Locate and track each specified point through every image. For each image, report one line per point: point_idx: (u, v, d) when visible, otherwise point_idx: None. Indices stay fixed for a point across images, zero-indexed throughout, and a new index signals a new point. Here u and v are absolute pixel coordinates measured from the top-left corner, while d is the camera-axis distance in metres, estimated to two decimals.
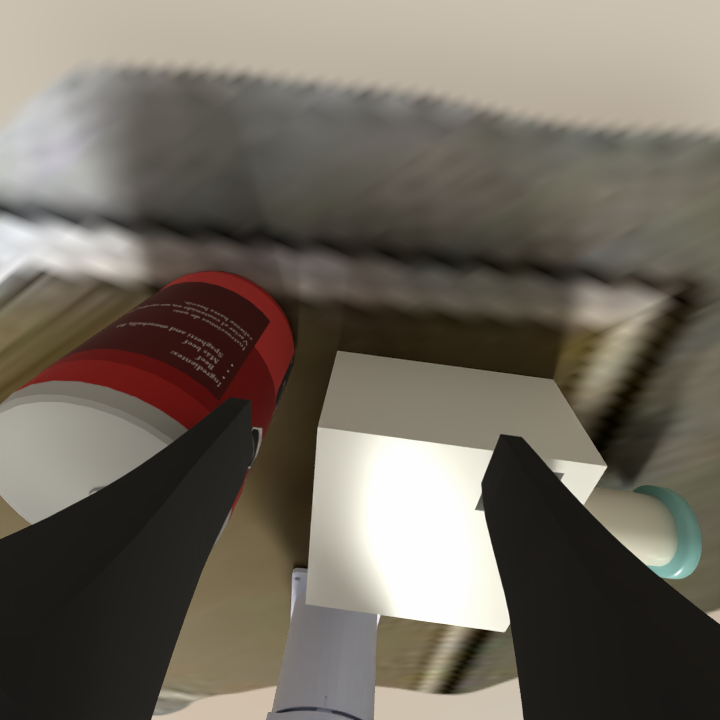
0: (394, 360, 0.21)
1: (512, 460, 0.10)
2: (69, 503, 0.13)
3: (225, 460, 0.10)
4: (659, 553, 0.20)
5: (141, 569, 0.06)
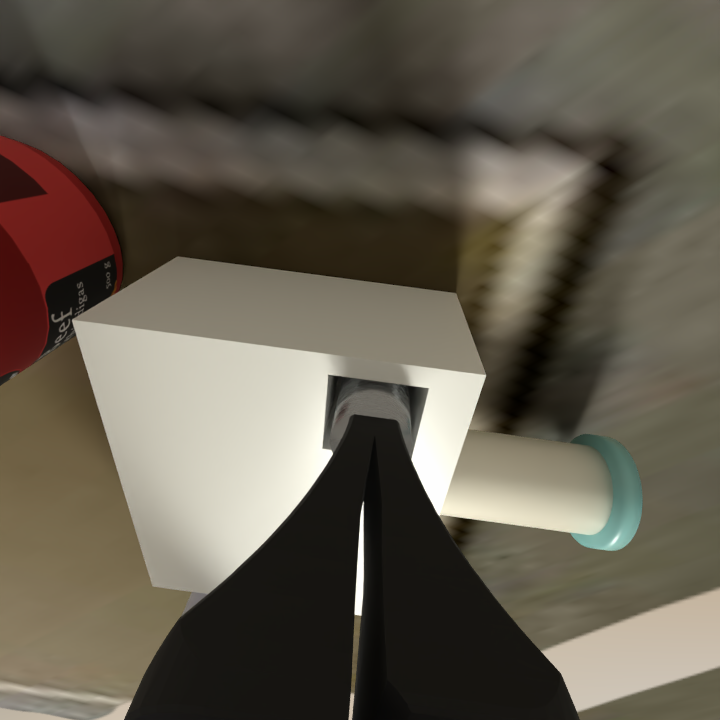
0: (249, 267, 0.16)
1: (374, 441, 0.10)
2: None
3: (366, 479, 0.10)
4: (589, 515, 0.16)
5: None
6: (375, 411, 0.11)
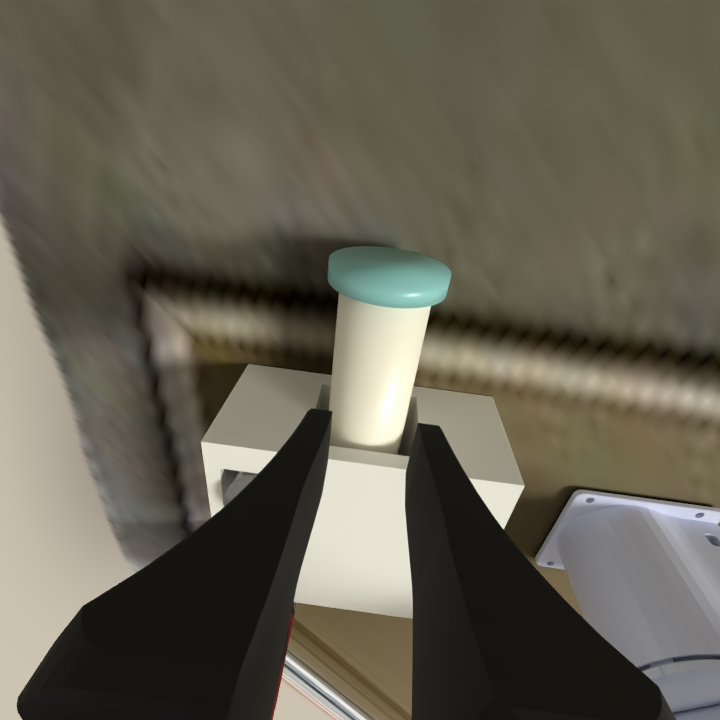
0: None
1: (421, 448, 0.10)
2: None
3: (318, 473, 0.10)
4: (372, 318, 0.15)
5: (279, 588, 0.06)
6: (223, 503, 0.18)
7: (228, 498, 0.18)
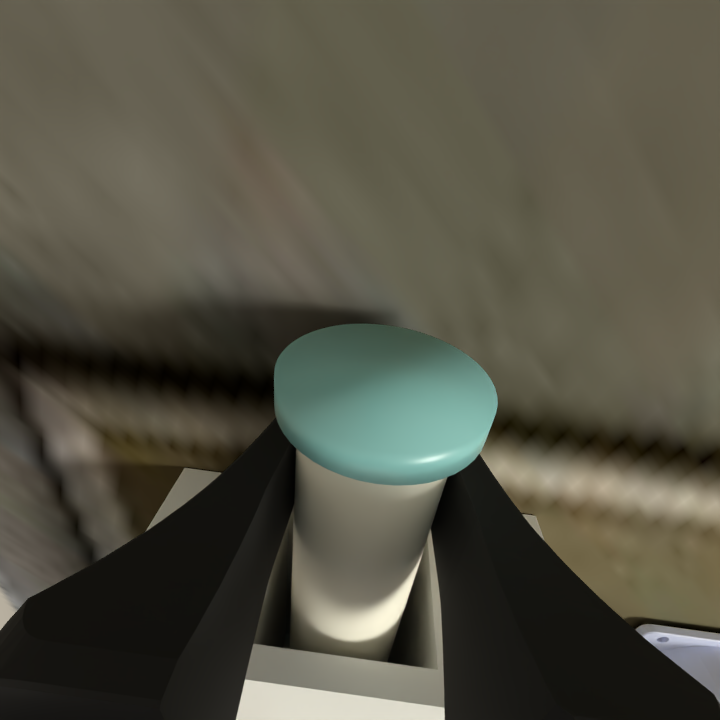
0: None
1: None
2: None
3: (290, 469, 0.10)
4: (353, 485, 0.08)
5: (237, 583, 0.06)
6: None
7: None
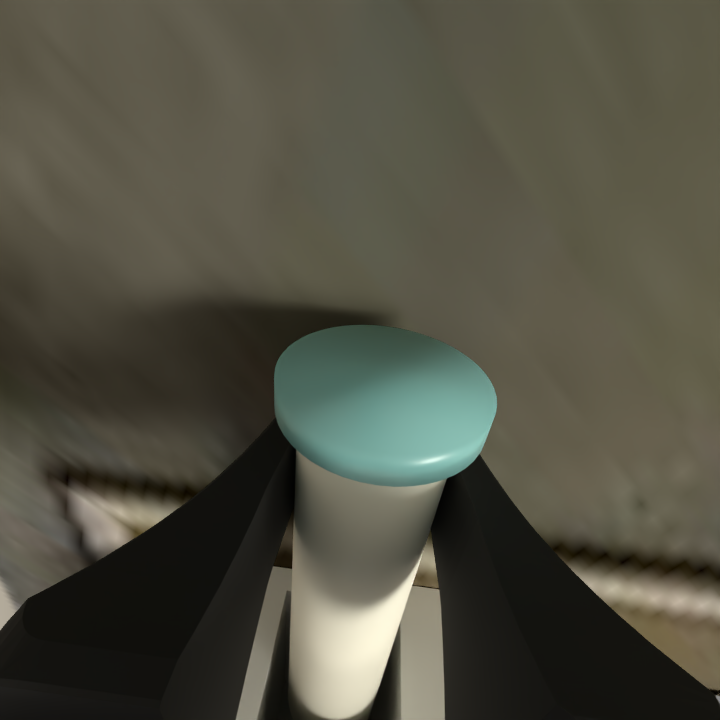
0: None
1: None
2: None
3: (290, 469, 0.10)
4: (353, 486, 0.08)
5: (238, 582, 0.06)
6: None
7: None
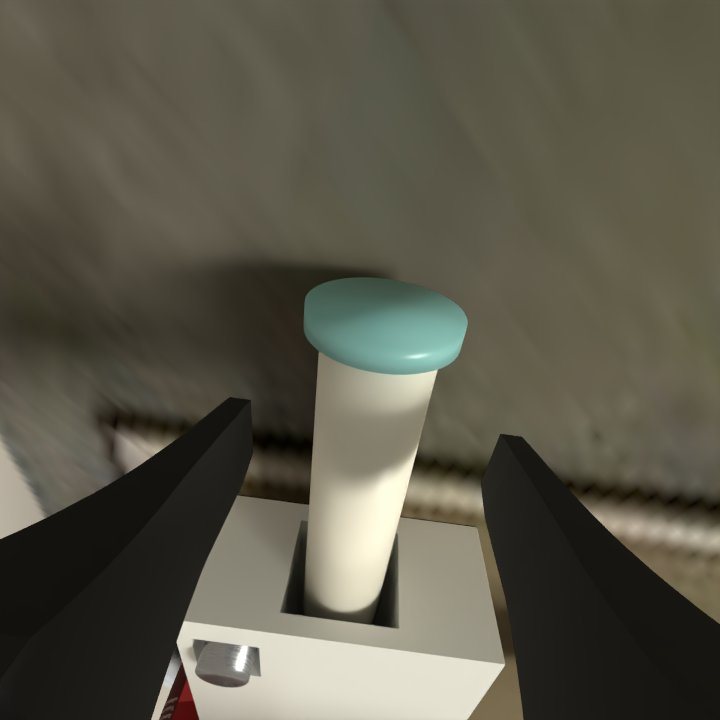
0: None
1: (512, 460, 0.10)
2: None
3: (225, 460, 0.10)
4: (363, 383, 0.11)
5: (141, 569, 0.06)
6: (195, 671, 0.17)
7: (200, 669, 0.17)
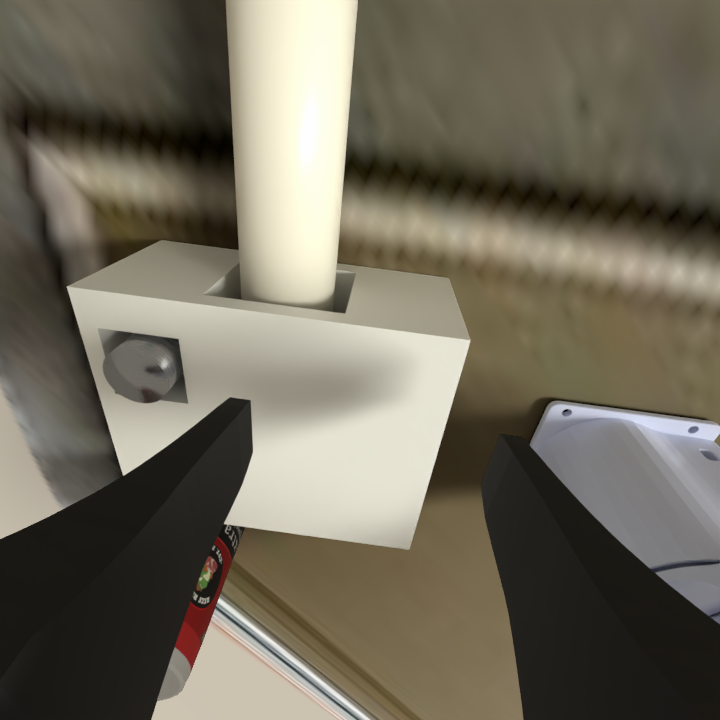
0: None
1: (512, 460, 0.10)
2: None
3: (225, 460, 0.10)
4: None
5: (141, 569, 0.06)
6: (103, 372, 0.14)
7: (108, 365, 0.14)
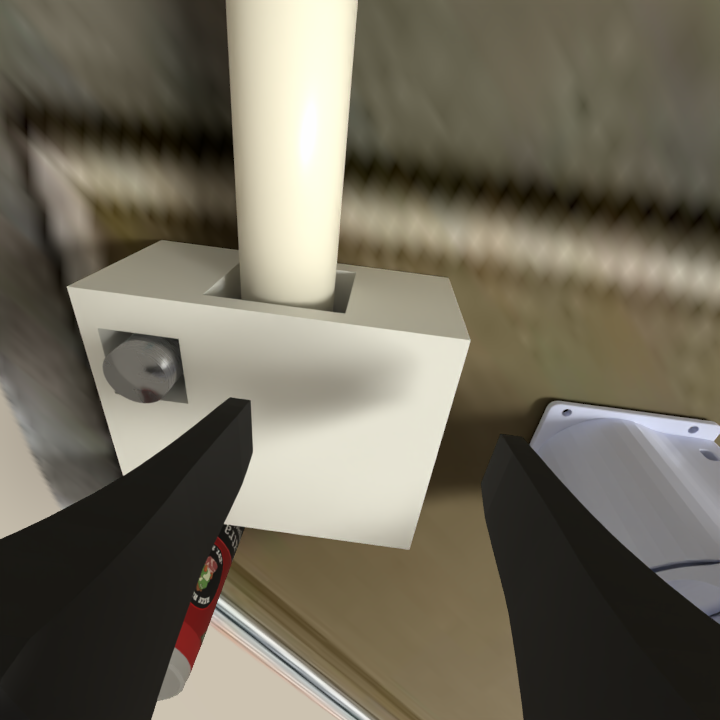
0: None
1: (512, 460, 0.10)
2: None
3: (225, 460, 0.10)
4: None
5: (141, 569, 0.06)
6: (103, 372, 0.14)
7: (108, 365, 0.14)
